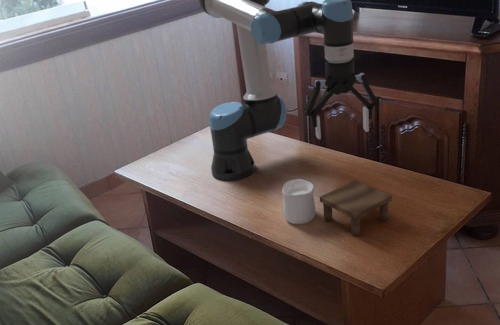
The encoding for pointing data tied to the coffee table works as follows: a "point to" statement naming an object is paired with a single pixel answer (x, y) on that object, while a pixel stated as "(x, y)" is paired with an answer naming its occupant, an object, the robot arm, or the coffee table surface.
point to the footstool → (355, 203)
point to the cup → (298, 201)
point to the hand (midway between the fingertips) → (342, 133)
